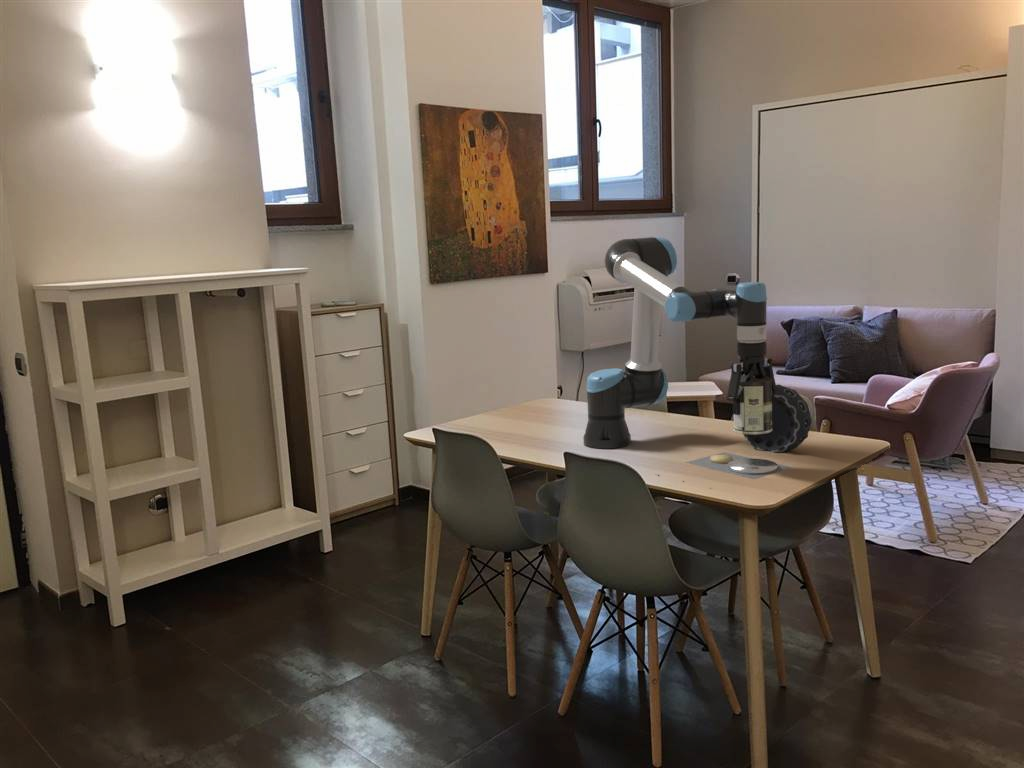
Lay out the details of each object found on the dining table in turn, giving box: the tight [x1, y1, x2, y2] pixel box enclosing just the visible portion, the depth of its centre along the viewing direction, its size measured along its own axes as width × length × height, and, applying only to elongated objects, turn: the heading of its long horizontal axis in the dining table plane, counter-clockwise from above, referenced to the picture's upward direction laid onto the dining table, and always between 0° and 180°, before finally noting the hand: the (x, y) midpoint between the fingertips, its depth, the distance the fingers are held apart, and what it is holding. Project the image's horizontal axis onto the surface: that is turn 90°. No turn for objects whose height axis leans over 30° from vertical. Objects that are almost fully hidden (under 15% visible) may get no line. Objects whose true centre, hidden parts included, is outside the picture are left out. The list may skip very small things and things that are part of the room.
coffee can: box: [733, 376, 772, 435], centre depth 235 cm, size 10×10×14 cm
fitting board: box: [685, 451, 793, 480], centre depth 242 cm, size 24×16×2 cm, turn 35°
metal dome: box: [728, 457, 778, 475], centre depth 238 cm, size 13×13×1 cm
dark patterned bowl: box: [742, 384, 813, 453], centre depth 257 cm, size 11×20×20 cm, turn 51°
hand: (752, 423), depth 236 cm, fingers closed on coffee can, 10 cm apart
